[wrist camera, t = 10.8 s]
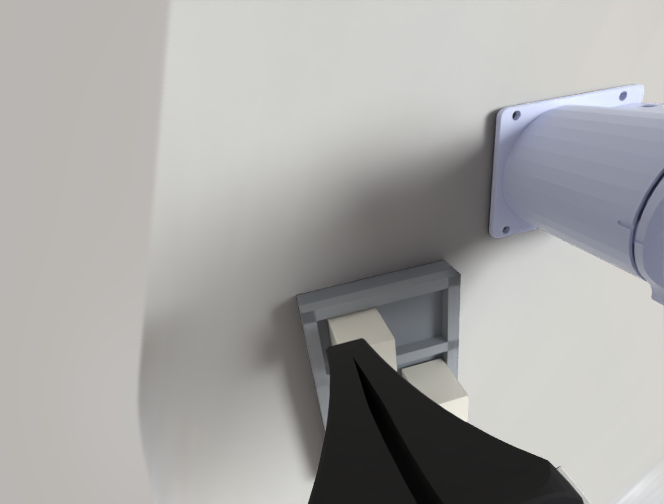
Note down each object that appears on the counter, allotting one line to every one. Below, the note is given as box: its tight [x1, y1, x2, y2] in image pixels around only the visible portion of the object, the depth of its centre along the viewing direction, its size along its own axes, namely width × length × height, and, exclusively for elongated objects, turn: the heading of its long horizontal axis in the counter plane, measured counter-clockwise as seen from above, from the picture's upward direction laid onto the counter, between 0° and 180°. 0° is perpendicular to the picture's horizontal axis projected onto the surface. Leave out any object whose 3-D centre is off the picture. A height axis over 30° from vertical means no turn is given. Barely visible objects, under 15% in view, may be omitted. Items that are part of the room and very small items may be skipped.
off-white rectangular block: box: [327, 307, 397, 371], centre depth 22 cm, size 3×3×4 cm
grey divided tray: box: [296, 260, 461, 432], centre depth 27 cm, size 10×17×2 cm, turn 8°
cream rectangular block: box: [402, 358, 469, 422], centre depth 25 cm, size 3×3×4 cm
